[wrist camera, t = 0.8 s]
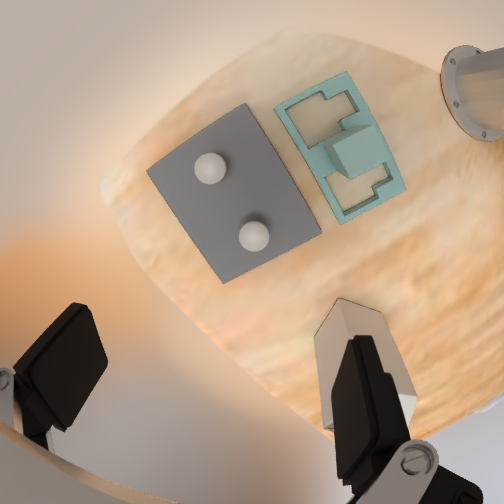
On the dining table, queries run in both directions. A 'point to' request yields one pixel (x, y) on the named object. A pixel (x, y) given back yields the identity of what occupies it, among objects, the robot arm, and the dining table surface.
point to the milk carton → (333, 347)
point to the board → (234, 195)
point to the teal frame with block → (347, 147)
